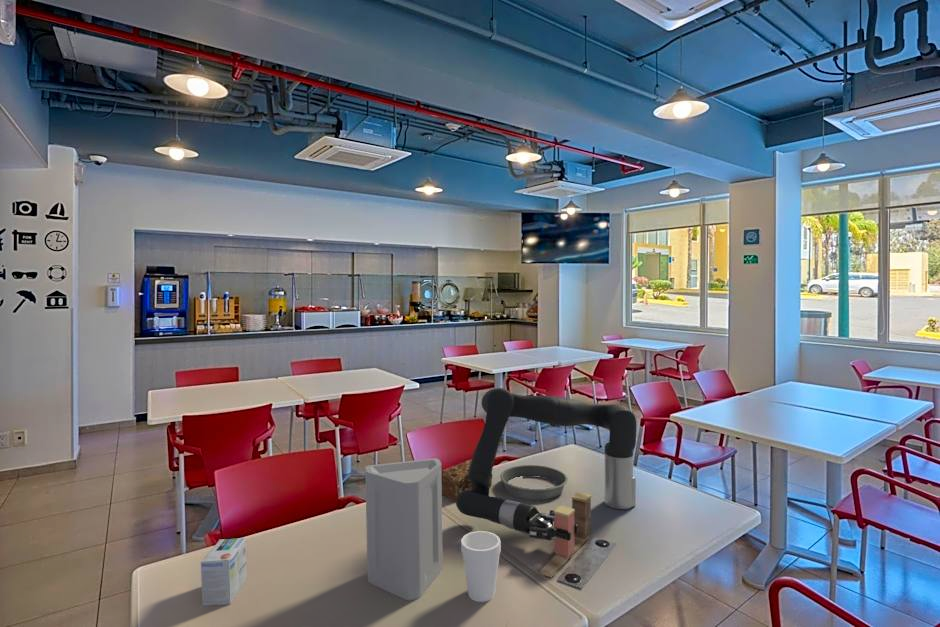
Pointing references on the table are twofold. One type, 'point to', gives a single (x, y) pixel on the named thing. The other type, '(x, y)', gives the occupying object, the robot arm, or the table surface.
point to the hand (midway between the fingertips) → (573, 532)
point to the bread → (457, 480)
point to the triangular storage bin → (404, 526)
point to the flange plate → (587, 562)
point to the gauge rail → (560, 558)
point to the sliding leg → (565, 522)
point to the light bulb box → (223, 572)
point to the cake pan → (534, 471)
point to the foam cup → (481, 563)
